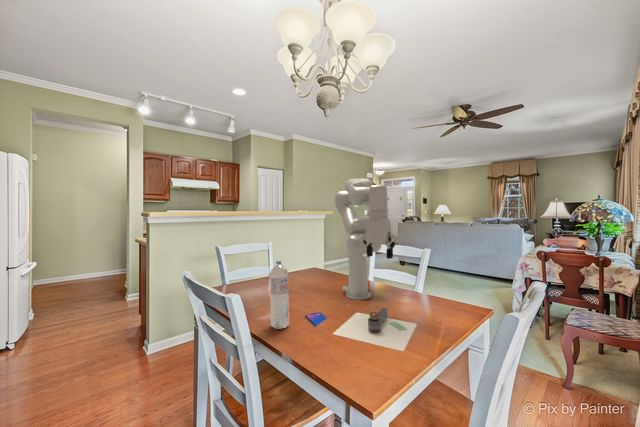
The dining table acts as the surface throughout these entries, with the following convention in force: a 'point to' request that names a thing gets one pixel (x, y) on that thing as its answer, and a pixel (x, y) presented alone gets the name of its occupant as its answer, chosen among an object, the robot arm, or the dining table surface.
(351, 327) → the dial plate
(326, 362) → the dining table surface
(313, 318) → the smartphone
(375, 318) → the grey lever handle
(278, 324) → the water bottle
